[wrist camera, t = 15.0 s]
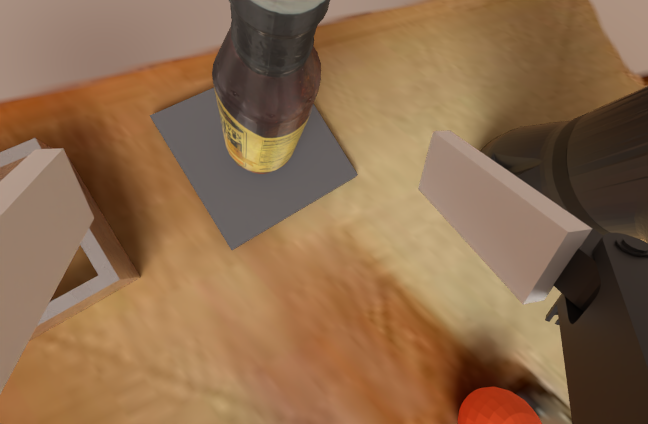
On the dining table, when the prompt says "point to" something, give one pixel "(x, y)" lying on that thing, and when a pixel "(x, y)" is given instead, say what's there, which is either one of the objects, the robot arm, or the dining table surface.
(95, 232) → the grey shallow open box
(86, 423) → the dining table surface
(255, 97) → the sauce bottle
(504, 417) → the clementine
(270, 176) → the rubber mat
